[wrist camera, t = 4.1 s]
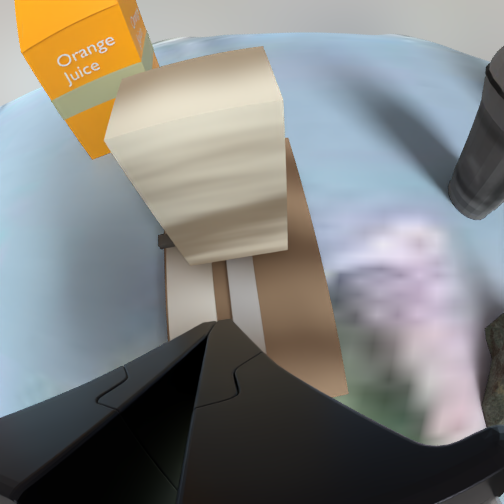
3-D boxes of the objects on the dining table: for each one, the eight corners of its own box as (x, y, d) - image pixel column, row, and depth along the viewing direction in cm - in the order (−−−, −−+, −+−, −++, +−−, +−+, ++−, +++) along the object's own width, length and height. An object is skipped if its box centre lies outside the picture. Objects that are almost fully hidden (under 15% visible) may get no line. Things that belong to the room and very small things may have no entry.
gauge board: (343, 393, 17) (349, 393, 15) (183, 414, 17) (172, 416, 16) (288, 150, 25) (287, 134, 23) (171, 171, 25) (164, 157, 24)
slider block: (287, 250, 19) (283, 100, 9) (161, 271, 19) (58, 157, 9) (276, 197, 21) (262, 46, 11) (161, 218, 21) (82, 93, 11)
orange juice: (100, 115, 31) (29, -20, 13) (169, 91, 31) (115, -63, 13) (91, 161, 28) (-8, 5, 10) (171, 133, 28) (97, -57, 10)
